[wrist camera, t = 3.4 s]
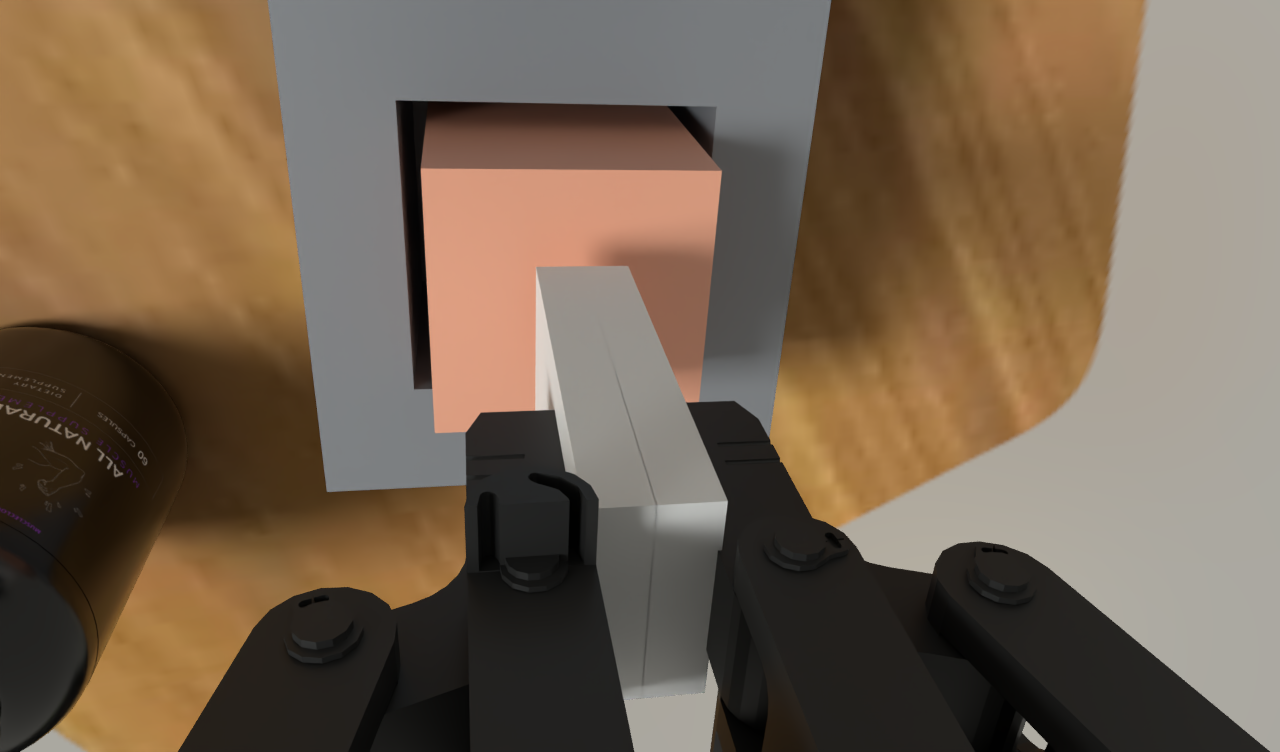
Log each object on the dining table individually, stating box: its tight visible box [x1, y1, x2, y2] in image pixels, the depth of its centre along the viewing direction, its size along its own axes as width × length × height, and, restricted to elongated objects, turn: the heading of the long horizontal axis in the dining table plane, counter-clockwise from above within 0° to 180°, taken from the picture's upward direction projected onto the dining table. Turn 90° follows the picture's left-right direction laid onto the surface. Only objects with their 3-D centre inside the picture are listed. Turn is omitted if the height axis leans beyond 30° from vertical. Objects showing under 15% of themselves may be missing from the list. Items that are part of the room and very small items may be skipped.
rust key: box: [421, 101, 722, 433], centre depth 19 cm, size 5×5×5 cm
